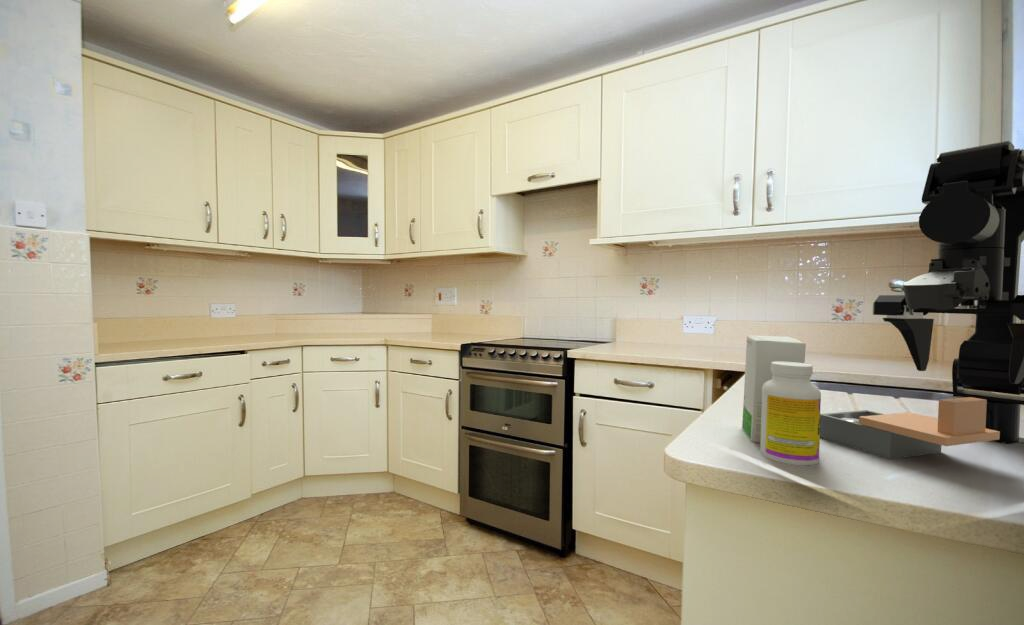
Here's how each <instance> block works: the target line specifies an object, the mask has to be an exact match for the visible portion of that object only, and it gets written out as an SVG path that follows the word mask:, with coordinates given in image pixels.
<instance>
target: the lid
mask: <svg viewBox="0 0 1024 625" xmlns="http://www.w3.org/2000/svg"><path fill="white" fill-rule="evenodd" d="M986 407H987V400H985V399H979V398H973V397H954V398H953V397H952V398H942V399H938V409H937V410H938V411H937V417H933V416H928V415H924V414H920V413H915V412H910V411H909V412H906V411H905V412H898V413H896V412H895V413H886V414H884V413H882V414H883V415H872V416H861V417H859V424H861V425H865V426H869V427H873V428H877V429H881V430H885V431H888V432H892V433H896V434H900V435H904V436H908V437H912V438H916V439H919V440H923V441H927V442H931V443H935V444H939V445H941V446H943V447H950V446H951V447H952V446H960V445H966V444H975V443H981V442H982V443H984V442H990V441H991V440H999V439H1000V431H995V430H990V429H986ZM991 442H992V441H991Z"/></svg>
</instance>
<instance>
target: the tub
mask: <svg viewBox="0 0 1024 625" xmlns="http://www.w3.org/2000/svg"><path fill="white" fill-rule="evenodd" d="M883 414H884V413H881V412H877V411H871V410H867V409H863V410H850V411H839V412H829V413H827V412H826V413H820V438H821V439H824V440H828V441H831V442H832V443H833V442H834V443H837V444H840V445H843V446H846V447H850V448H853V449H856V450H859V451H863V452H865V453H870V454H872V455H875V456H879V457H882V458H884V459H889V460H895V459H900V458H909V457H916V456H922V455H931V454H940V453H942V445H939V444H935V443H931V442H927V441H923V440H919V439H916V438H912V437H908V436H904V435H900V434H896V433H892V432H888V431H885V430H881V429H877V428H873V427H869V426H865V425H861V424H859V423H855V422H851V421H847V420H843V419H841V418H853V419H859V417H860V416H872V415H883Z"/></svg>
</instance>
